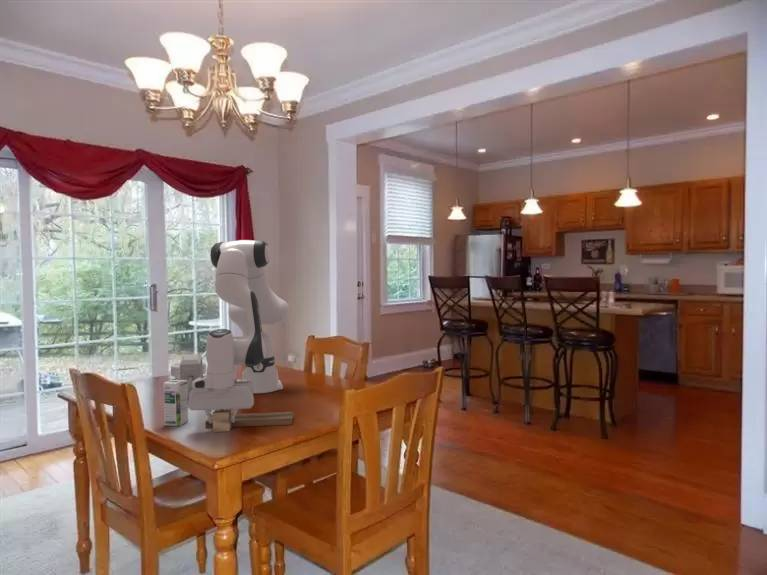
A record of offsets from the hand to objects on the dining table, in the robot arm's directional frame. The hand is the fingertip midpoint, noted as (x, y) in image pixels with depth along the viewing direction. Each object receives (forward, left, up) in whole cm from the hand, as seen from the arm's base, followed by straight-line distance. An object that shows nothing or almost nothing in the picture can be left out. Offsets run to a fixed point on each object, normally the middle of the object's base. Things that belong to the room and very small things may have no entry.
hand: (222, 422), depth 169 cm
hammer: (-43, -22, -3) cm, 48 cm away
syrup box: (-9, -17, -3) cm, 19 cm away
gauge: (-4, 0, -2) cm, 5 cm away
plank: (-7, +8, -2) cm, 11 cm away
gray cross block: (-76, -31, -3) cm, 82 cm away
